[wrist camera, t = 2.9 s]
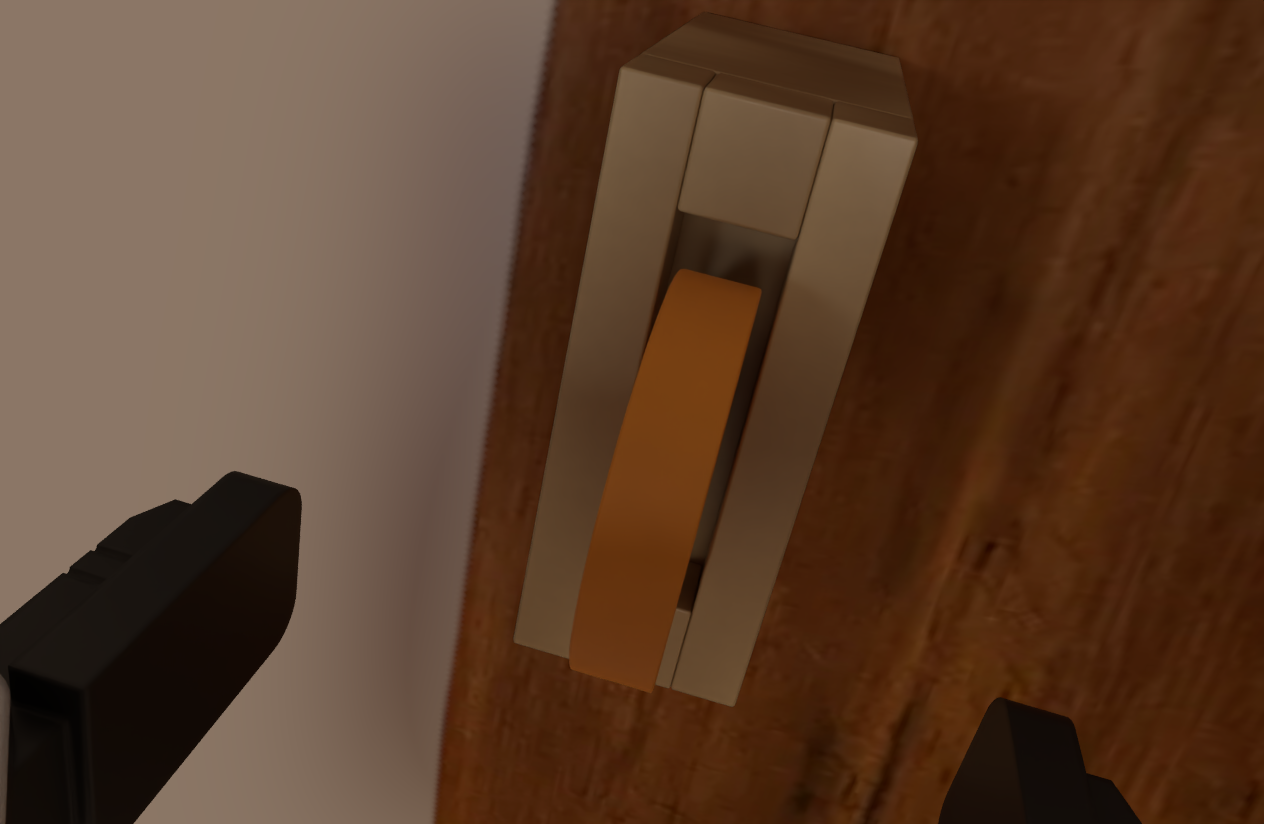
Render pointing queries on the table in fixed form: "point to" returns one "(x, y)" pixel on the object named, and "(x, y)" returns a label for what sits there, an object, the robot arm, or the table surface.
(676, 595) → the token
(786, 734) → the table surface
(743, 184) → the holder
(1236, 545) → the table surface
